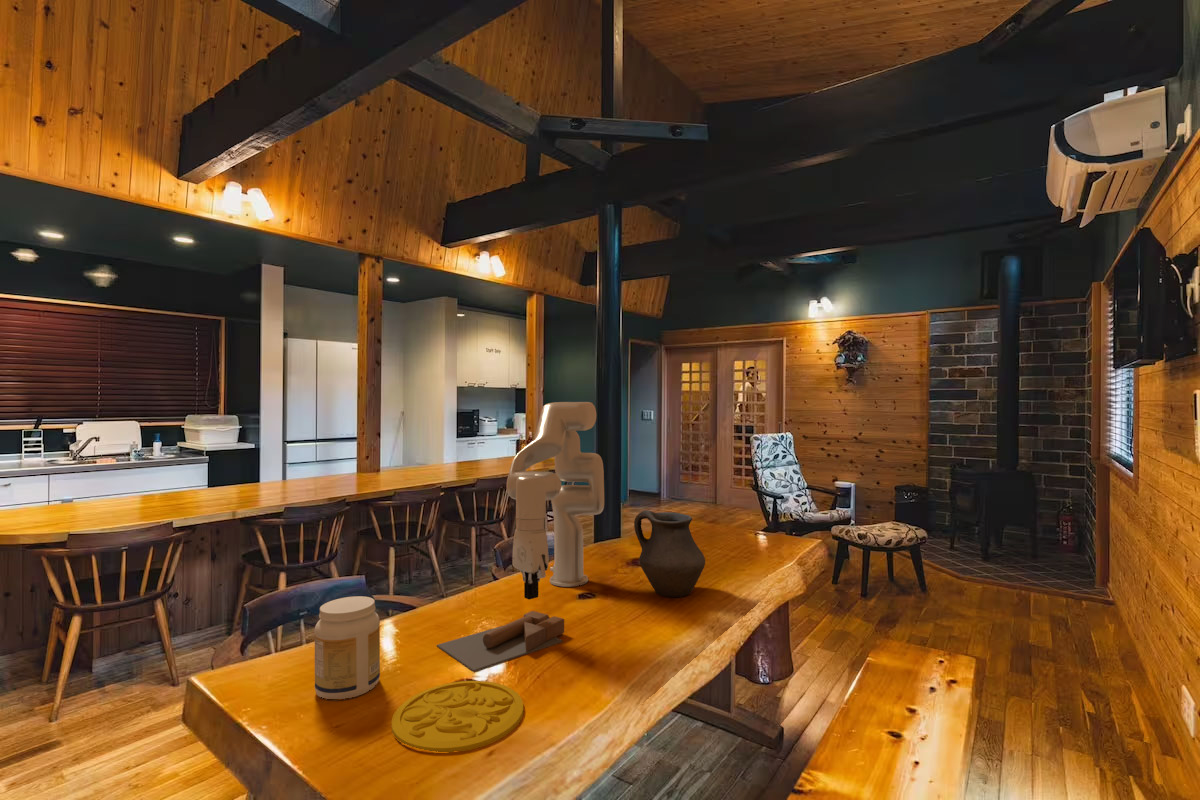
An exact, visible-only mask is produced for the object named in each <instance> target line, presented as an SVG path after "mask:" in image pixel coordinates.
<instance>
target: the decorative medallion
mask: <svg viewBox="0 0 1200 800" xmlns="http://www.w3.org/2000/svg"><path fill="white" fill-rule="evenodd" d="M523 716H524V701H523V699H522V696H520V694H519V693H518V692H517V691H515V690H514V689H513V688H511V687H509V686H507V685H504V684H500V683H497V682H493V681H485V680H464V681H463V680H462V681H455V682H449V683H444V684H440V685H436V686H433V687H429V688H428V689H427V688H426V689H425V690H423V691H420V692H418V693H417V694H414V695H412V696H411V697H409V698H408V699H407V700H405V701H404V702H403V703H402V704H400V705H399V706H398V707H397V709H396V710H395V711H394V713H393V715H392V718H391V724H392V725H391V728H392V731H391V733H393V734H394V736H395V737H396V738H397V739H398V740H399V741H401V742H402V743H404V744H407V745H409V746H412V747H416V748H419V749H424V750H429V751H436V752H437V751H438V752H454V751H463V752H467V751H466V750H468V751H472V749H473V750H476V749H479V748H478V747H480V748H482V746H483V747H485V746H488V745H491V744H492V743H495V742H497V741H499V740H500V739H502V738H504V737H506V736H507V735H508V734H510V733H511V732H512V731H513V730H514V729H515V728H516V727H517V726H518V725H519V724H520V722H521V720H522V719H523ZM393 734H392V735H393ZM394 736H393V737H394ZM475 748H476V749H475Z"/></svg>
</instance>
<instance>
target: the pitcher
mask: <svg viewBox="0 0 1200 800" xmlns="http://www.w3.org/2000/svg"><path fill="white" fill-rule="evenodd" d="M645 519H646V520H648V521H649V522H650V524H651V533H650V537H649V538H646V537H645V535H644V533H643V529H642V520H645ZM692 521H693V518H692V516H690V515H689V514H683V513H679V512H672V511H669V512H666V511H665V512H664V511H663V512H662V511H660V512H653V511H652V510H642V511H640V512H639V513H638V514H637V515H636V516H635V518H634V522H633V524H634V525H633V529H634V531H635V532H634V533H635V535H636V538H637V541H638V542H639V545H640V548H641V552H640V555H639V557H638V562H639V566H640V567H641V570H642V571H643V573H644V574H645V576H646V578H647V580H648V582H649V583H650V585H651V587H652V589H653V590H654V592H655V594H656V593H657V594H656V595H658V594H659V595H658V596H661V595H662V597H666V598H667V597H668V598H675V597H676V598H684V597H686V596H689V595H690V594H691V593H692V592H693V590H694V588H695V586H696V584H697V583H698V581H699V579H700V576H701V575H702V573H703V570H704V568H705V566H706V559H705V556H704V553H703V551H702V550H701V549H700V548H699V546H698V545H697V543H696V542H695V540H694V538H693V536H692V532H691V529H690V524H691V522H692Z"/></svg>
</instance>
